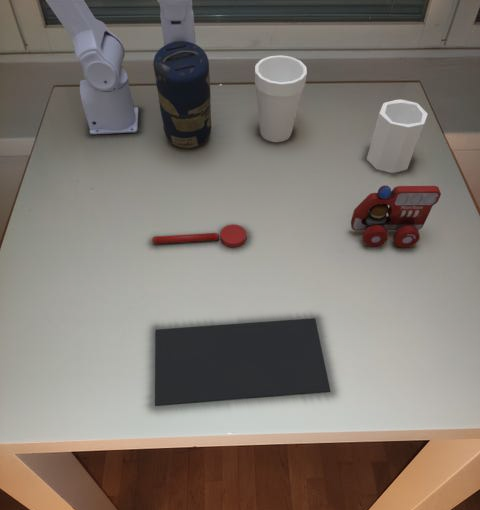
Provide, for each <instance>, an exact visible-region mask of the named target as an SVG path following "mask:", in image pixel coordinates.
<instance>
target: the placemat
mask: <svg viewBox="0 0 480 510" xmlns="http://www.w3.org/2000/svg"><path fill="white" fill-rule="evenodd" d="M154 337H155V338H154V339H155V342H154V345H155V347H154V406H155V407H157V406H168V405H169V406H170V405H181V404H192V403H193V404H194V403H207V402H218V401H219V402H220V401H232V400H245V399H255V398H256V399H257V398H270V397H282V396H293V395H305V394H306V395H307V394H320V393H330V392H331V387H330V382H329V377H328V372H327V367H326V363H325V358H324V353H323V348H322V343H321V340H320V334H319V331H318V324H317V321H316V317H313V318H299V319H297V318H296V319H283V320H270V321H255V322H242V323H230V324H228V323H227V324H214V325H200V326H199V325H198V326H187V327H173V328H172V327H171V328H158V329H155V334H154Z"/></svg>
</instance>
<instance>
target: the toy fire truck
mask: <svg viewBox="0 0 480 510" xmlns="http://www.w3.org/2000/svg"><path fill="white" fill-rule="evenodd" d="M441 195H442V193H441V190H440V188H439V186H438V185H396V186H395V187H393V189H392V188H391V187H390V186H388V185H382V186H380V187H379V188H378V190H377V192H371V193H369V194H368V195H367V196H366V197H365V198H364V199H362V201H361V202H359V204H358V205H357V206H356V207H355V208H354V210H353V212H352V216H351V219H350V227H351V229H352V230H353V231H357V232H358V231H362V240H363V243H364V244H365V245H366V246H369V247H378V246H382V245H383V244H385V243H386V242H387V241H388V239H389V233H388V232H389V231H394V233H393V235H392V239H393V243H394V245H395V246H396V247H398V248H401V249H402V248H409V247H413V246H414V245H416V244H417V243H418V242H419V240H420V238H421V237H420V232H419V230H421V229H422V228H423V227H424V226H425V223H426V221H427V219H428V217H429V215H430V212H431V210H432V209H433V206H434V205H436V204H437V203H438V202H439V200H440V197H442V196H441Z"/></svg>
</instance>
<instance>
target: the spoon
mask: <svg viewBox="0 0 480 510" xmlns="http://www.w3.org/2000/svg"><path fill="white" fill-rule="evenodd" d="M219 239H220V242H221V243H222V244H223V245H224V246H226V247H228V248H239V247H241V246H243V245H244V244H245V242H246V241H247V231H246V229H245V228H243V226H241V225H239V224H228V225H226V226H224V227H223V228H222V229H221V230H220V233H217V232H210V233H209V232H207V233H193V234H191V233H190V234H174V235H159V236H154V237H152V239H151V241H152V243H153V244H155V245H158V244H161V245H162V244H174V243H175V244H176V243H177V244H178V243H191V242H206V241H218V240H219Z"/></svg>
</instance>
